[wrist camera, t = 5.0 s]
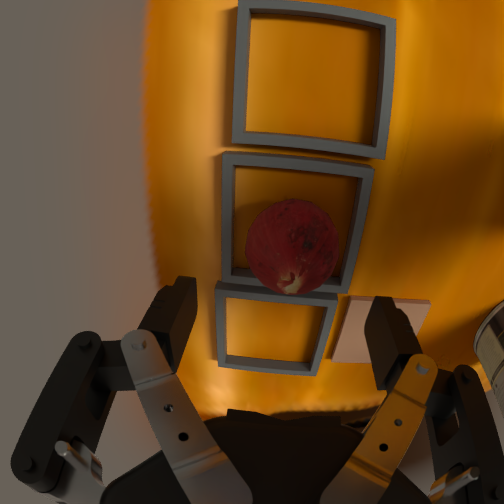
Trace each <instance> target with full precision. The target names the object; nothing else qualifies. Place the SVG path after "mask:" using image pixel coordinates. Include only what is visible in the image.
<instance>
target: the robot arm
mask: <svg viewBox="0 0 504 504" xmlns="http://www.w3.org/2000/svg"><path fill="white" fill-rule="evenodd" d="M197 307H198V305H197V286H196V278H194V277H186V276H178V277H177V279H176V281H175V283H174V285H173V286H168V285H166V286H165V287H163V288H162V289H161V290H159V291H158V292H157V294H156V296H155V298H154V301H152V303H151V305H150V307H149V309H148V310H147V312H146V314H145V316H144V317H143V320H142V321H141V323H140V325H139V327H138V328H137V330H133V331H130V332H129V333H127V334H126V335H125V336H124V337H123V338H122V340H117V341H101V338H100V336H99V335H98V334H97V333H95V332H92V331H84V332H81V333H78V334H77V335H75V336H74V337H73V338H72V339H71V341H70V342H69V344H68V346H67V347H66V349H65V351H64V352H63V354H62V356H61V358H60V359H59V361H58V363H57V365H56V366H55V368H54V370H53V372H52V374H51V375H50V377H49V379H48V381H47V383H46V385H45V387H44V388H43V390H42V392H41V394H40V396H39V398H38V400H37V402H36V404H35V406H34V408H33V410H32V412H31V414H30V416H29V419H28V420H27V423H26V425H25V427H24V429H23V431H22V433H21V436H20V438H19V440H18V443H17V445H16V447H15V450H14V452H13V454H12V457H11V468H12V471H13V473H14V475H15V476H16V478H18V480H20V481H22V482H23V483H24V484H26V485H27V486H29V487H30V488H31V489H33V490H34V491H36V492H37V493H39V494H41V495H43V496H44V497H46V498H48V499H50V500H52V501H55V502H57V503H59V504H504V455H503V451H502V447H501V443H500V440H499V436H498V432H497V429H496V425H495V422H494V419H493V416H492V412H491V409H490V406H489V403H488V401H487V398H486V395H485V392H484V389H483V387H482V384H481V381H480V379H479V376H478V374H477V372H476V371H475V370H474V369H473V368H471V367H470V366H468V365H459V366H457V367H456V368H455V369H454V371H453V372H450V371H446V370H442V369H438V367H437V364H436V363H435V361H434V360H433V359H432V358H430V357H429V356H427V355H424V354H423V352H422V350H421V347H420V345H419V342H418V340H417V337H416V335H415V332H414V330H413V328H412V326H411V323H410V321H409V318H408V316H407V315H406V314H405V313H404V312H403V311H402V310H401V309H400V308H396V305H395V303H394V301H393V298H392V297H385V296H375V298H374V300H373V302H372V305H371V308H370V310H369V313H368V316H367V318H366V321H365V325H364V335H365V339H366V343H367V347H368V351H369V355H370V359H371V364H372V368H373V372H374V377H375V381H376V386H377V390H387V395H386V397H385V398H384V400H383V402H382V403H381V405H380V406H379V408H378V410H377V411H376V413H375V414H374V416H373V417H372V419H371V420H370V422H369V423H368V425H367V426H366V428H365V429H364V431H363V432H362V433H361V432H359V431H358V430H356V429H354V428H352V427H350V426H347V425H344V424H341V417H340V416H310V417H304V418H299V419H293V420H286V421H285V420H281V419H277V418H274V417H270V416H267V415H264V414H261V413H258V412H252V411H243V410H235V409H228V410H227V416H220V417H215V418H211V419H208V420H205V421H202V419H201V417H200V416H199V414H198V412H197V410H196V409H195V407H194V405H193V403H192V402H191V400H190V398H189V396H188V395H187V393H186V391H185V389H184V387H183V385H182V384H181V382H180V380H179V378H178V376H177V375H176V372H177V369H178V367H179V364H180V361H181V358H182V355H183V352H184V349H185V347H186V344H187V341H188V338H189V335H190V333H191V330H192V327H193V324H194V322H195V319H196V315H197ZM173 372H174V373H173ZM127 390H136V391H137V393H138V396H139V399H140V401H141V404H142V406H143V408H144V411H145V413H146V416H147V418H148V420H149V422H150V425H151V427H152V429H153V431H154V433H155V436H156V438H157V440H158V442H159V444H160V446H161V448H162V450H160V451H159V452H157V453H156V454H154V455H153V456H151V457H150V458H148V459H147V460H145V461H144V462H142V463H141V464H139V465H138V466H136V467H134V468H133V469H131V470H130V471H128V472H126V473H125V474H123V475H122V476H120V477H118V478H117V479H115V480H113V481H112V482H111V483H110V484H109V485H108V486H107V487H105V486H104V484H103V481H102V465H101V462H100V461H99V459H98V458H97V457H96V456H95V455H94V454H95V451H96V448H97V445H98V442H99V439H100V436H101V433H102V430H103V428H104V425H105V422H106V419H107V416H108V414H109V411H110V408H111V406H112V403H113V400H114V398H115V395H116V392H117V391H127ZM455 412H457V416H458V419H459V428H458V424H457V420H456V416H455ZM424 415H425V419H426V424H427V429H428V435H429V440H430V446H431V452H432V459H433V465H434V473H435V481H434V483H433V484H432V486H431V488H430V493H429V495H428V497H427V496H426V495H425V494H424V493H423V492H422V491H421V490H420V489H419V488H418V487H417V486H416V485H415V484H414V483H413V482H411V481H410V480H409V479H408V478H407V477H406V476H405V475H404V474H403V473H402V472H401V471H400V470H399V469H398V468H397V466H398V465H399V463H400V461H401V459H402V458H403V456H404V454H405V452H406V450H407V448H408V447H409V445H410V442H411V441H412V439H413V436H414V434H415V432H416V430H417V429H418V426H419V424H420V422H421V420H422V418H423V416H424Z"/></svg>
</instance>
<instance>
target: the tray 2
mask: <svg viewBox="0 0 504 504" xmlns="http://www.w3.org/2000/svg"><path fill="white" fill-rule="evenodd" d="M236 165H246V166H260V167H273V168H285V169H295V170H305V171H314V172H323V173H331V174H339V175H346V176H354V177H359V178H358V184H357V190H356V196H355V202H354V207H353V213H352V218H351V224H350V229H349V234H348V239H347V244H346V248H345V253H344V258H343V262H342V267H341V271H340V275H339V277H329V278H328V279H327V280H326V281H325V282H324V283H323V284H322V285H321V286H320V287H319V288H317V289H315V290H313V291H319V292H331V293H344V294H348V290H349V286H350V283H351V279H352V275H353V271H354V267H355V263H356V259H357V255H358V251H359V246H360V242H361V237H362V233H363V228H364V224H365V219H366V214H367V209H368V204H369V198H370V193H371V187H372V182H373V176H374V170H375V169H374V168H372V167H371V166H370V165H365V164H358V163H351V162H344V161H337V160H329V159H321V158H313V157H304V156H294V155H283V154H271V153H257V152H241V151H225V152H224V153H223V154H222V282H226V283H235V284H245V285H254V286H264V285H263V284H262V283H261V282H260V281H259V280H258V278H257V277H256V276H255V275H254V274H253V273H252V271H251V269H244V268H234V267H233V253H234V204H235V167H236ZM264 287H266V286H264Z"/></svg>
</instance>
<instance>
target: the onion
mask: <svg viewBox="0 0 504 504" xmlns="http://www.w3.org/2000/svg"><path fill="white" fill-rule="evenodd" d="M245 255H246V258H247V261H248V264H249V267H250V269H251V271H252V273H253V274H254V275H255V276H256V277H257V278H258V280H259V281H260V282H261V283H262V284H263V285H264V286H266V287H268V288H270V289H271V290H273V291H275V292H276V293H282V294H288V295H298V294H306V293H308V292H310V291H313V290H315V289H317V288H319V287H320V286H321V285H322V284H323V283H324V282H325V281H326V280H327V279H328V278H329V277H330V276H331V275H332V273H333V270H334V268H335V265H336V263H337V260H338V258H339V239H338V232H337V230H336V228H335V226H334V224H333V222H332V221H331V219H330V217H329V215H328V214H327V213H326V212H325V211H323V210H322V209H321V208H319V207H318V206H316V205H315V204H314V203H312V202H309V201H303V200H298V199H289V200H285V201H281V202H278V203H274V204H273V205H271V206H270V207H268V208H267V209H265V210H264V211H262V212H261V213H260V214H259V215H258V216H257V217H256V219H255V221H254V222H253V224H252V225H251V227H250V229H249V230H248V236H247V241H246V246H245Z"/></svg>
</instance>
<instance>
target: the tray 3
mask: <svg viewBox="0 0 504 504" xmlns="http://www.w3.org/2000/svg"><path fill="white" fill-rule="evenodd" d="M226 297H230V298H239V299H248V300H258V301H268V302H278V303H289V304H300V305H312V306H324V307H325V309H324V313H323V317H322V321H321V325H320V328H319V332H318V336H317V340H316V344H315V347H314V351H313V354H312V358H311V362H310V363H304V362H290V361H278V360H268V359H258V358H249V357H241V356H233V355H227V338H226ZM337 304H338V296H337V293H331V292H319V291H310V292H308V293H306V294H298V295H288V294H282V293H276V292H275V291H273V290H271V289H270V288H268V287H264V286H254V285H245V284H235V283H226V282H222V281H217V284H216V287H215V312H216V335H217V355H218V367H224V368H232V369H239V370H248V371H257V372H266V373H277V374H289V375H303V376H316V374H317V371H318V368H319V365H320V362H321V359H322V356H323V352H324V349H325V346H326V343H327V339H328V336H329V332H330V329H331V326H332V322H333V319H334V315H335V311H336V308H337Z"/></svg>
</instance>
